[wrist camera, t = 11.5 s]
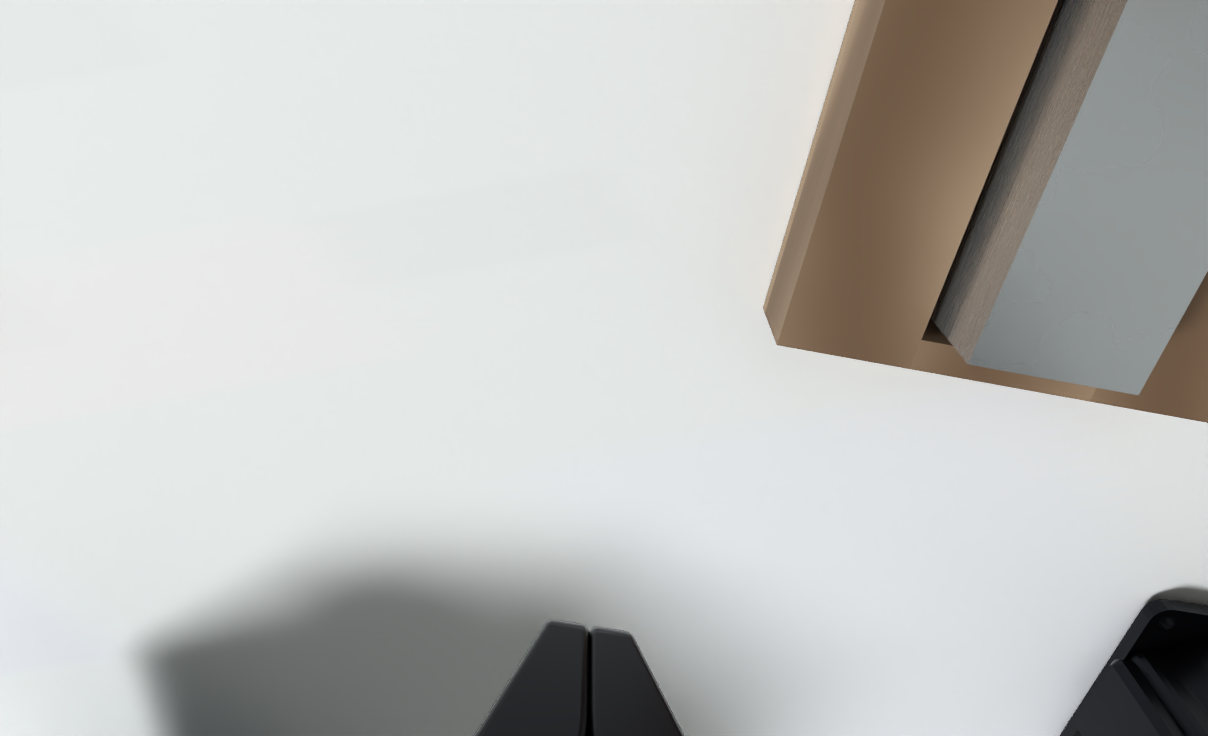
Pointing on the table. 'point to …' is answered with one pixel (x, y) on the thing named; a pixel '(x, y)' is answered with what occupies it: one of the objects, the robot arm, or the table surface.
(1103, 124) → the rail
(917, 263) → the rail base
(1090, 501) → the table surface
